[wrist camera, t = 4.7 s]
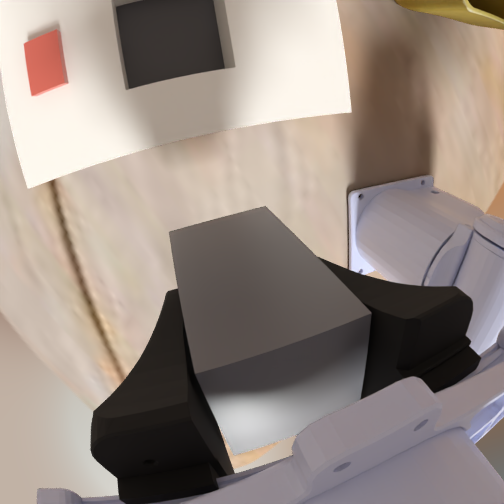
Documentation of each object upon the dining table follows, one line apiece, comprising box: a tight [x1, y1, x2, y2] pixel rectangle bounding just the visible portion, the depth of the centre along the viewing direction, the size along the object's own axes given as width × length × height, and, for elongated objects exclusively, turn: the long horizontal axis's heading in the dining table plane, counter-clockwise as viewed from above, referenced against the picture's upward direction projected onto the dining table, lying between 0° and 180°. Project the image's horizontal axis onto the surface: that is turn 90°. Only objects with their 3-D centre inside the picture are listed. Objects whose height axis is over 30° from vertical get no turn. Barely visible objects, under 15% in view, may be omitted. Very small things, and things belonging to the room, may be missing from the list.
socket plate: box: [0, 0, 352, 189], centre depth 15 cm, size 20×13×4 cm, turn 99°
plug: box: [169, 206, 372, 455], centre depth 12 cm, size 4×4×9 cm
